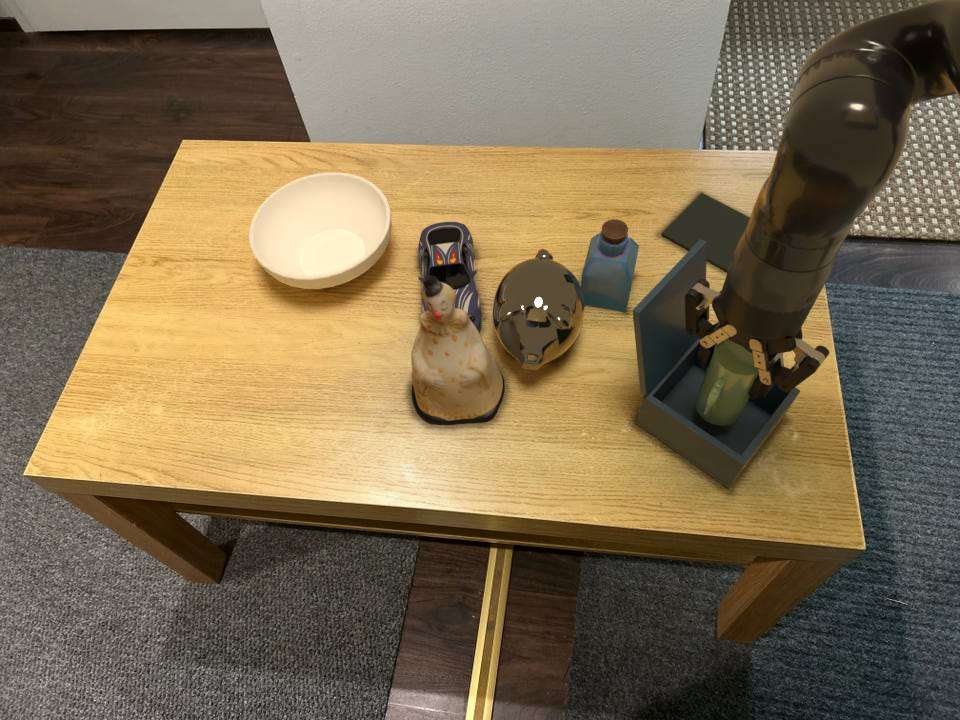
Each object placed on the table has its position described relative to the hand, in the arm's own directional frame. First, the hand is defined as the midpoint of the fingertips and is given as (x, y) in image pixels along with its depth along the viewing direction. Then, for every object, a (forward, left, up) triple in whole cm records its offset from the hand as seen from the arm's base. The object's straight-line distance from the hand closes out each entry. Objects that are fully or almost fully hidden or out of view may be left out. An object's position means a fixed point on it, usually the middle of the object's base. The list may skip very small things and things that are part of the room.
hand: (731, 376), depth 72 cm
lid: (+8, 0, +3) cm, 8 cm away
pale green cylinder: (0, 0, -6) cm, 6 cm away
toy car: (+38, +5, -11) cm, 40 cm away
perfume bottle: (+21, -8, -11) cm, 25 cm away
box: (0, 0, -11) cm, 11 cm away
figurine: (+26, +16, -11) cm, 33 cm away
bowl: (+55, +12, -11) cm, 58 cm away
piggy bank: (+23, +4, -11) cm, 26 cm away
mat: (+15, -25, -11) cm, 32 cm away
